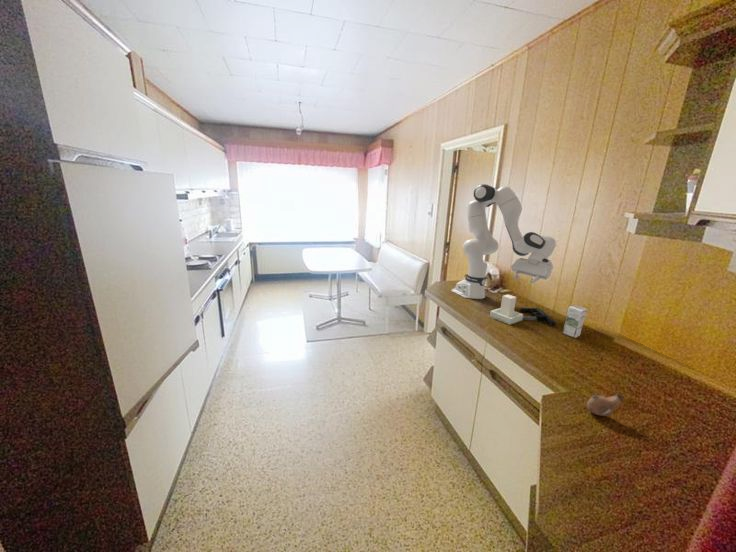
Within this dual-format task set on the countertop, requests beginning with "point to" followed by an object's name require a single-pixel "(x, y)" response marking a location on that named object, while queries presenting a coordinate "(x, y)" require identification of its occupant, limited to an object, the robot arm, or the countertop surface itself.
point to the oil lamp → (603, 404)
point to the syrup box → (574, 321)
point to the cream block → (508, 305)
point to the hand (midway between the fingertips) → (523, 280)
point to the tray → (505, 319)
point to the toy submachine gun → (540, 317)
